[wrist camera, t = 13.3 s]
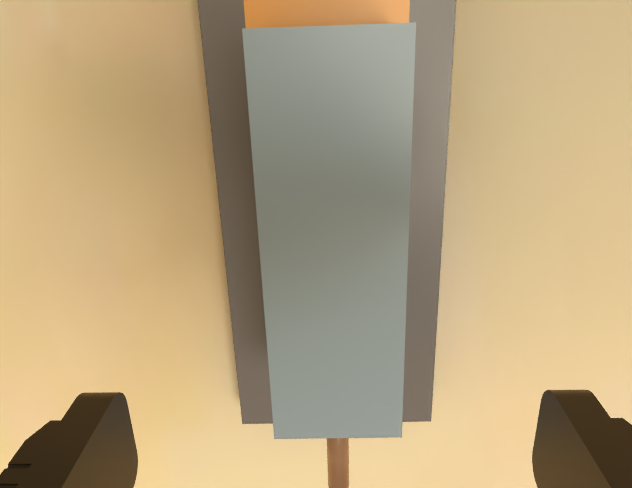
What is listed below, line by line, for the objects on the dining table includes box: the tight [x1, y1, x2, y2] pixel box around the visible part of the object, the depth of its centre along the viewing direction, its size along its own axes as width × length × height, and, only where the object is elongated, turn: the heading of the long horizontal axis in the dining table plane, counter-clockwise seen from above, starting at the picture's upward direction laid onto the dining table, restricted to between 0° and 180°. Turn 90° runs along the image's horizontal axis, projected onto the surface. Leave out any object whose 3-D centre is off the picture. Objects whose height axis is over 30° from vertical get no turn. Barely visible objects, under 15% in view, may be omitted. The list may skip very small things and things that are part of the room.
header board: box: [198, 0, 456, 424], centre depth 23 cm, size 24×10×6 cm, turn 2°
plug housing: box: [242, 22, 416, 488], centre depth 22 cm, size 21×5×6 cm, turn 2°
